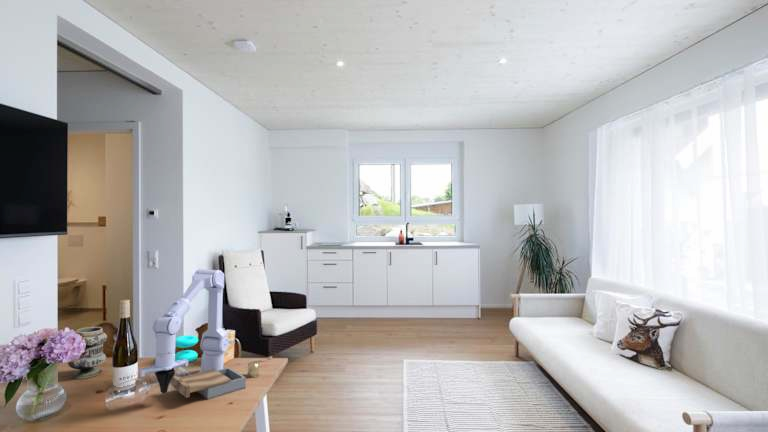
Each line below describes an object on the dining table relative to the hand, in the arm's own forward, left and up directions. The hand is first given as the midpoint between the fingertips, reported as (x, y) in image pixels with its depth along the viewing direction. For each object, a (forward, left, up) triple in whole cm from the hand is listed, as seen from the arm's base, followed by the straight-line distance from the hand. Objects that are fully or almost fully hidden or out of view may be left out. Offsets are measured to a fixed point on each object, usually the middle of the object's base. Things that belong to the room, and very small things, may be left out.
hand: (163, 392), depth 129 cm
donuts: (-39, +21, -4) cm, 45 cm away
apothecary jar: (-48, -13, -4) cm, 50 cm away
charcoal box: (0, +19, -4) cm, 19 cm away
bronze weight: (-2, +34, -4) cm, 34 cm away
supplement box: (-26, +33, -4) cm, 42 cm away
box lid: (0, +12, -1) cm, 12 cm away
